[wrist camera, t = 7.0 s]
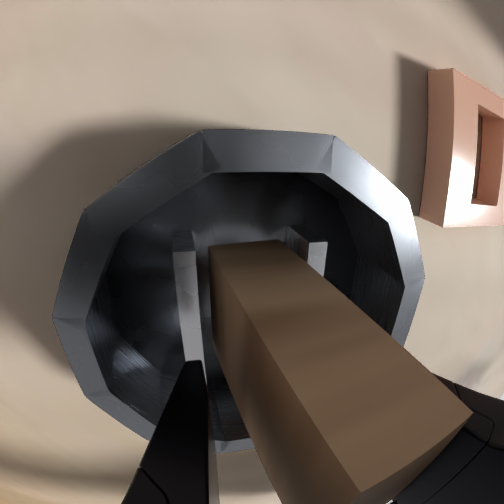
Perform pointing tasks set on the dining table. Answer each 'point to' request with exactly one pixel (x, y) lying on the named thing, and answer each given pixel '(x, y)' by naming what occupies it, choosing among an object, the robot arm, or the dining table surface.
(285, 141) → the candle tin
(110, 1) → the dining table surface
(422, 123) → the dining table surface
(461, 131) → the rest block
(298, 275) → the tan bar
